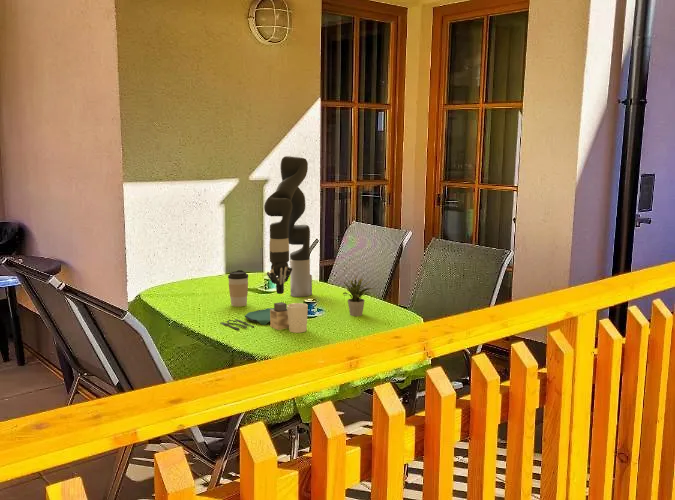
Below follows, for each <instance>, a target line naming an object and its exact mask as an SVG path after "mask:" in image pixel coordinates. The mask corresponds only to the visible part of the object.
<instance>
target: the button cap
mask: <svg viewBox="0 0 675 500" xmlns="http://www.w3.org/2000/svg"><path fill="white" fill-rule="evenodd" d="M287 305H288V304H287V303H285V302H283V301H281V302H280V301H279V302H274V303H273V308H274V310H277V311H284V310H287Z"/></svg>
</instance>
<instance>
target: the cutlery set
mask: <svg viewBox="0 0 675 500" xmlns="http://www.w3.org/2000/svg"><path fill="white" fill-rule="evenodd" d="M272 309H274V307H272V308H271V307H270V308H269V307H268V308H265V309H258V310H254V311H249V312H247V313H246V314H245V315H244V318H245V319H246V320H248V321H251V322H255V323H259V324H260V325H262V326H265V325H267V324H268V323H270V310H272ZM229 321H233V322H229ZM235 322H236V323H235ZM237 322H239V323H237ZM220 324H221V325H223V326H227V327H229V328H231V329H233V328H234V330H236V331H240V327H242V328H244V329H248V326H249V327H252V328H255V326H254V325H251V324H250V323H248V322H246V321H243V320H240V319H238V318H235V319H234V320H233V319H229V320H227V321H226V322H224V321H222V322H220ZM233 325H235V326H233ZM236 325H237V326H240V327H237V326H236ZM247 325H248V326H247Z"/></svg>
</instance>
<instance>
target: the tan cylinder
mask: <svg viewBox="0 0 675 500" xmlns="http://www.w3.org/2000/svg"><path fill="white" fill-rule="evenodd" d="M308 306H309V305H308V304H307V303H304V302H303V303H302V302H293V303H288V304H287V311H288V324H289V328H288V331H289V332H290V333H294V334H296V333H297V334H301V333H305V332H307V327H308V326H307V324H308V312H309V311H308V310H309V309H308Z"/></svg>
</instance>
